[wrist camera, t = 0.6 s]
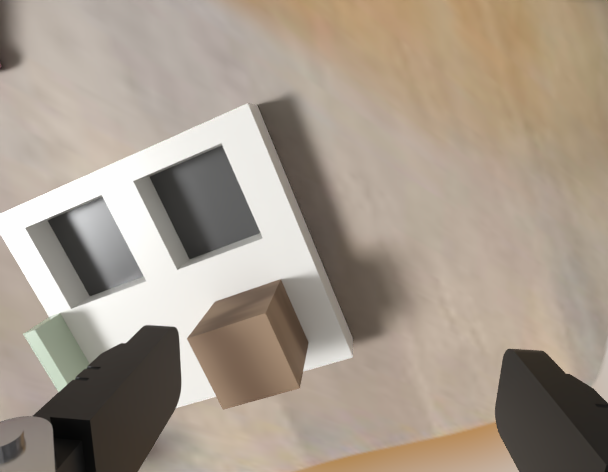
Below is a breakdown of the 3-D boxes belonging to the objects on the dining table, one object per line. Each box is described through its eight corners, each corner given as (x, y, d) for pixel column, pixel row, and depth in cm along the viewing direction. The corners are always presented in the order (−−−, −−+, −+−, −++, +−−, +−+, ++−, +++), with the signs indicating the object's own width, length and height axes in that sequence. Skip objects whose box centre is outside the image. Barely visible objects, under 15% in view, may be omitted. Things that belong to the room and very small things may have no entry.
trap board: (257, 104, 27) (236, 101, 22) (352, 338, 31) (353, 379, 26) (19, 210, 31) (-43, 227, 26) (130, 404, 35) (94, 450, 30)
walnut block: (280, 279, 27) (265, 313, 22) (308, 342, 28) (299, 388, 23) (215, 301, 28) (186, 338, 23) (244, 362, 29) (223, 409, 24)
